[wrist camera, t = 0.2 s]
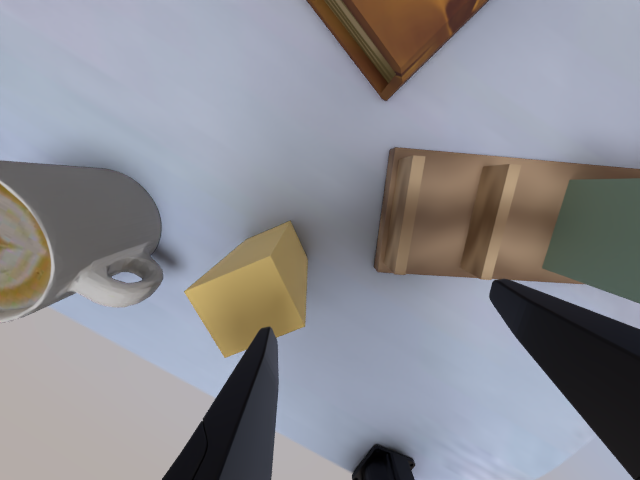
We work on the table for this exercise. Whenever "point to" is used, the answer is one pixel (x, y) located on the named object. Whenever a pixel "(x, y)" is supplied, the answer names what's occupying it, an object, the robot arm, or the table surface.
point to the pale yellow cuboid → (254, 290)
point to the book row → (599, 236)
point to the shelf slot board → (475, 213)
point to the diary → (393, 34)
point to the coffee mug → (73, 237)
